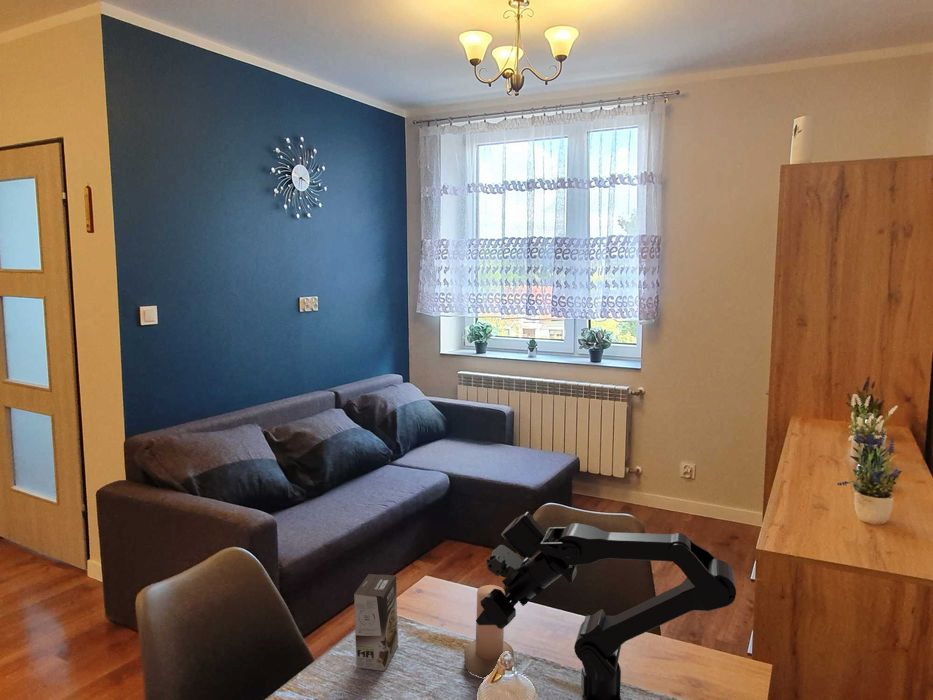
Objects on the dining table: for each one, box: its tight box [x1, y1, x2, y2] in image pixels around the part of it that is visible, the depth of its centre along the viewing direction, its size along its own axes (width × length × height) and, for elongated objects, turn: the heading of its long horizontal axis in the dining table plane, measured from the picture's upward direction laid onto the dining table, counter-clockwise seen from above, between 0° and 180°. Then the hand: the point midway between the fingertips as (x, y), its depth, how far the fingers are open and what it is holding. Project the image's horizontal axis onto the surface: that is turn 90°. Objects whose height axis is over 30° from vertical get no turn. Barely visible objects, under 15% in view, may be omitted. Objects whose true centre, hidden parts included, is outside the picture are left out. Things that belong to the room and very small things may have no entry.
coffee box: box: [353, 573, 399, 672], centre depth 136 cm, size 9×6×16 cm
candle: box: [475, 584, 505, 660], centre depth 133 cm, size 6×6×13 cm
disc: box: [463, 639, 514, 678], centre depth 134 cm, size 10×10×3 cm
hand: (488, 611), depth 132 cm, fingers open, 9 cm apart
